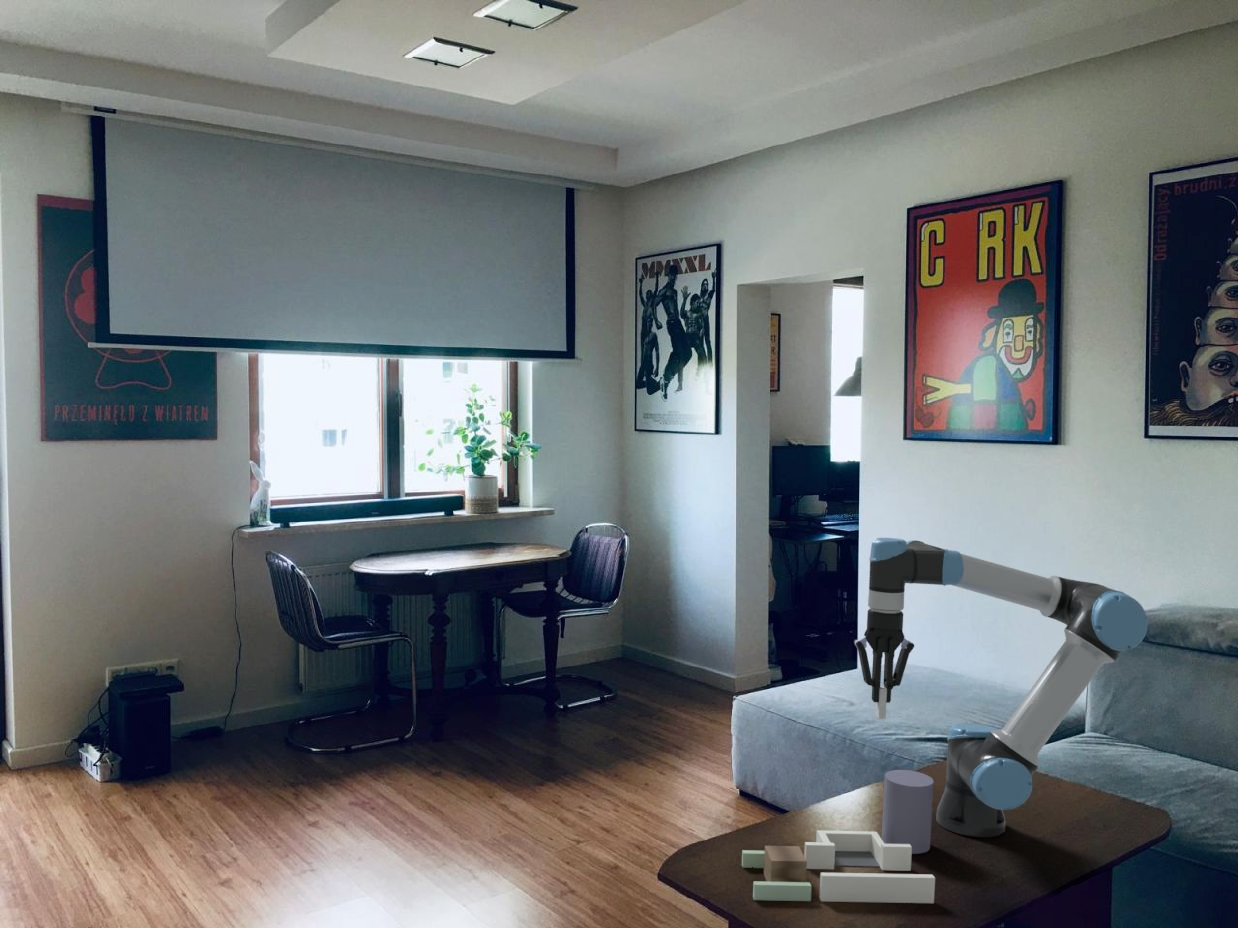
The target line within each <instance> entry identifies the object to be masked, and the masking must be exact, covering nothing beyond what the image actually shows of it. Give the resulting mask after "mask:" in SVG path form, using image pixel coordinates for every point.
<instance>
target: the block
mask: <svg viewBox="0 0 1238 928" xmlns="http://www.w3.org/2000/svg"><path fill="white" fill-rule="evenodd" d="M764 851H765V853H764V868H763V876H764V878H765V882H807V869H806V867H807V861H806V859H805V857H804V853H803V852H802V849H801V848H800V846H799V845H764Z"/></svg>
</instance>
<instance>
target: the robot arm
mask: <svg viewBox="0 0 1238 928" xmlns="http://www.w3.org/2000/svg"><path fill="white" fill-rule="evenodd" d="M869 554H870V555H869V580H868V581H869V583H868V585H869V586H868V599H867V606H868V607H869V609H868V610H867V618H866V619H867V620H866V630H865V631H864V634H863V635H864V636H862V637H860V638H859V639H857V638H856V639H854V640H853V644H854V646H855V647H856V649H857V652H858V653H857V654H858V656H859V662H860V666H861V673H862V677H863V678H862V679H863V681H864V683H865V684H866V685H868V686H870V687H871V700H872V701H873V703H875V711H874V713H875V717H876V718H878V720H879V719H880V720H886V715H887V704H889V703H891V701H892V690H893V689H894V687H896V686H897V687H900V686H901V683H902V680H903V677H904V673H905V669H906V666H907V663H908V659H909V655H910V653H911V652H912V651H913V650H914V648H915V644H914V643H913V642H912V641H910V640H907V639H906V638H905V634H904V632H903V630H904V629H903V625H904V612H903V610H904V608H905V589H906V588H905V586H906V584H911V585H913V584H917V585H918V584H920V585H922V584H923V585H935V586H936V585H938V586H939V585H940V586H944V587H945V586H953V587H958V588H961V589H964V590H967V591H971V592H975V593H979V594H982V595H985V596H989V597H992V598H996V599H999V600H1003V601H1006V602H1008V603H1009V602H1010V603H1012V604H1013V603H1014V604H1017V605H1021V606H1024V607H1027V608H1030V609H1034V610H1038V611H1039V613H1041V615H1042V616H1043V617H1045V618H1050V619H1053V620H1056V621H1058V622H1061V623H1062V624H1065V625H1066V626H1065V628H1064V629H1063V630H1064V631H1063V632H1064V636H1065V641H1064V642H1063V644H1062V645H1061V646H1060V648H1059V649H1058V651H1057V652H1056V654H1055V655H1054V656H1053V657H1052V659H1051V660H1050V662H1049V663H1048V664H1047V666H1046V668H1045V669H1044V670H1043V672H1042V673H1041V675H1040V676H1039V677H1038V678H1037V680H1036V681H1035V682H1034V684H1033V685H1032V687H1031V689H1030V690H1029V691H1028V692H1027V694H1026V695H1025V697H1024V698H1023V699H1022V701H1021V702H1020V704H1019V705H1018V706H1017V708H1016V709H1015V710H1014V711H1013V714H1012V715H1011V716H1010V718H1008V720H1007V722H1006V723H1005V724H1004V726H1003V727H1002V728H1001V729H999V728H996V727H992V726H989V725H988V726H987V725H982V724H971V723H970V724H968V723H965V724H964V723H961V724H954V725H952V726H950V728H949V729H948V730H949V731H948V737H947V738H946V739H947V755H946V773H945V774H946V777H945V778H946V779H945V780H946V781H945V788H944V791H943V793H942V797H940V801H939V803H938V806H937V809H936V815H935V817H936V819H935V821H936V822H937V824H938V825H939V826H940V827H942V828H944V829H945V830H948V831H949V832H953V833H955V834H958V835H963V836H967V837H972V838H994V837H998V836H1000V834H1001V835H1002V833H1003V832H1004V833H1005V831H1006V817H1005V814H1004V811H1008V810H1013V809H1017V808H1019V807H1020V806H1022V805H1023V804H1024V803H1025V802H1027V800H1028V799H1029V798H1030V796H1031V793H1032V790H1033V778H1032V777H1033V775H1034V774H1035V772H1036V771H1037V769H1038V768H1039V767H1040V762H1039V757H1038V755H1039V753H1040V751H1042V749H1043V747H1044V746H1045V745H1046V743H1047V742H1048V740H1049V739H1050V738H1051V736H1052V735H1053V734H1054V732H1055V731H1056V729H1057V728H1058V727H1059V725H1060V724H1061V723H1062V721H1063V720H1064V718H1065V717H1066V716H1067V715H1068V713H1069V711H1070V710H1071V708H1072V707H1073V706H1074V705H1075V704H1076V702H1077V701H1078V699H1079V697H1080V696H1081V695H1082V693H1083V692H1084V691H1085V690H1086V688H1087V686H1088V685H1089V684H1090V682H1091V681H1092V679H1094V677H1095V675H1096V674H1097V673H1098V671H1099V670H1100V669H1101V667H1102V666H1103V665H1105V664H1111V663H1114V662H1116V661H1117V659H1118V657H1119V656H1120V654H1122V652H1123V651H1128V650H1132V649H1134V648H1136V647H1137V646H1139V644H1140V643H1142V641H1144V638H1145V636H1146V635H1147V631H1148V628H1149V627H1148V625H1149V623H1148V618H1147V613H1146V611H1145V609H1144V607H1143V606H1142V604H1141V603H1140V602H1138V600H1136V599H1135V598H1133V596H1131V595H1129V594H1126V593H1125V592H1123V591H1120V590H1116V589H1114V588H1113V589H1112V588H1110V587H1107V586H1105V585H1101V584H1099V583H1094V582H1089V581H1081V580H1074V579H1069V578H1066V577H1061V576H1058V575H1051V576H1050V577H1045V576H1041V575H1039V574H1034V573H1031V572H1026V571H1024V570H1019V569H1016V568H1013V567H1010V566H1007V565H1006V566H1005V565H1003V564H1002V565H1001V564H998V563H996V562H991V561H988V560H984V559H980V558H977V557H975V556H970V555H967V554H963V553H960V552H959V551H957V550H950V549H947V548H946V549H945V548H941V547H938V546H935V545H931V544H928V543H925V542H923V541H920V540H907V541H906V540H904V539H902V538H895V537H894V538H893V537H878V538H874V540H873V541H872V542H871V548H870V553H869ZM867 644H868V645H869V646H870V648H871V649H872V673H871V668H870V664H869V663H870V662H869V659H868V652H867V650H866V648H867V647H868V645H867ZM899 647H900V651H899V653H898V657H897V661H896V664H895V666H894V658H895V651H896V650H897V648H899ZM883 654H884V662H883V663H884V664H883V663H882V661H883ZM882 664H883V665H884V666H883V685H881V680H882ZM894 667H895V668H894ZM1004 833H1003V834H1004Z"/></svg>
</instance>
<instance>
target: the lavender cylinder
mask: <svg viewBox="0 0 1238 928" xmlns="http://www.w3.org/2000/svg"><path fill="white" fill-rule="evenodd" d="M883 786H884V787H883V801H882V802H883V803H882V805H883V806H882V824H881V825H882V827H881V839H882V840H883V842H884V843H885V844H910V845H911V847H912V855H918V854H919V855H920V854H923V853H927V852H928V851H930V849H931V840H932V839H931V837H932V818H933V802H934V801H933V800H934V799H933V798H934V797H933V796H934V779H933V778H932V777H931V776H929V775H927V774H926V773H922V772H919V771H916V770H915V771H914V770H907V769H894V770H890V771H889V770H888V771H887V772H885V773H884V785H883Z"/></svg>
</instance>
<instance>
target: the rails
mask: <svg viewBox="0 0 1238 928" xmlns="http://www.w3.org/2000/svg"><path fill="white" fill-rule="evenodd" d="M764 853H765V850H755V849H753V850H752V849H751V850H749V849H747V850H745V849H742V850H741V867H742V868H743V869H747V868H748V869H749V868H750V869H751V868H752V867H753V868H752V869H764ZM752 886H753V887H752V898H753V901H780V902H781V901H784V902H785V901H786V902H787V901H789V902H795V901H796V902H812V887H813V886H812V884H811V882H810V881H809V882H808V881H806V882H767V881H766V880H765V881H757V880H756V881H755V880H754V881H753V883H752Z"/></svg>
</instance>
